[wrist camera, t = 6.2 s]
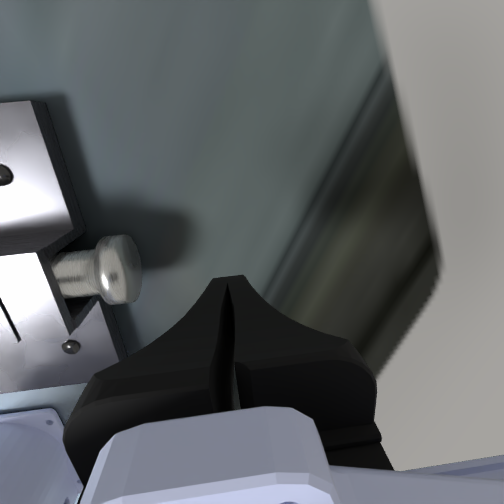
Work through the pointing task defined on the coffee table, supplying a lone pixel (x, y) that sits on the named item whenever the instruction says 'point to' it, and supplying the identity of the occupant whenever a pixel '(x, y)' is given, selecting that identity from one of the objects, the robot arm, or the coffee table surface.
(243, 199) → the coffee table surface
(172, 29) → the coffee table surface
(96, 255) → the hinge pin
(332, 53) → the coffee table surface
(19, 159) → the hinge leaves
